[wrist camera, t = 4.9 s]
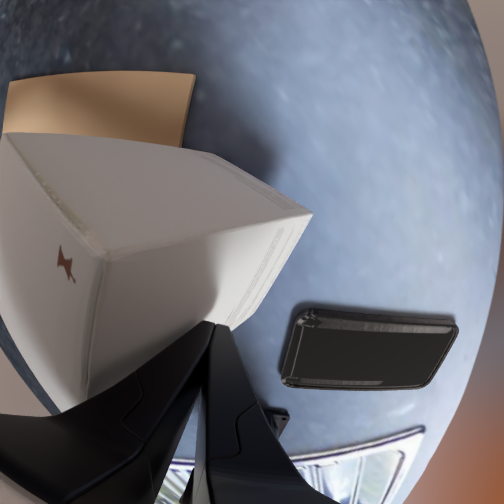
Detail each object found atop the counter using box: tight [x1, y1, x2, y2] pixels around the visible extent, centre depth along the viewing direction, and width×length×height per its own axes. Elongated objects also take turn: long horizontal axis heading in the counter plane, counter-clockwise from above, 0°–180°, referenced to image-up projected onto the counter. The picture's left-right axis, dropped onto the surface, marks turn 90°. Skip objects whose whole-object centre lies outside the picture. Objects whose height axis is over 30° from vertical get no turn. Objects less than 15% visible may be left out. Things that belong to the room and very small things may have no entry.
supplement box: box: [0, 132, 313, 412], centre depth 12 cm, size 7×7×13 cm
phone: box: [281, 308, 459, 391], centre depth 22 cm, size 8×1×15 cm
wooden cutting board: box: [2, 71, 196, 148], centre depth 18 cm, size 18×17×1 cm
